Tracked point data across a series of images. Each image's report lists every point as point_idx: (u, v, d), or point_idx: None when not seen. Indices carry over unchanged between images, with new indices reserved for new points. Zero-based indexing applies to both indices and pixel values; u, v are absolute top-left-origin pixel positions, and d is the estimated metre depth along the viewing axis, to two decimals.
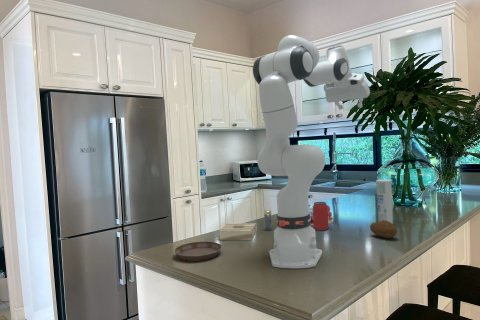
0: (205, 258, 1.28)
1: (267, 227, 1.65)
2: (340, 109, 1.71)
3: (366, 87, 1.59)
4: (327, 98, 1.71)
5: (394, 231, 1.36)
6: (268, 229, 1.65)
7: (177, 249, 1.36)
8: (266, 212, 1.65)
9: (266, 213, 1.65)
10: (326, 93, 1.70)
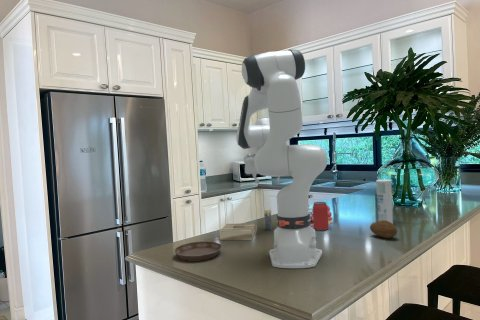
0: (205, 258, 1.28)
1: (267, 227, 1.65)
2: None
3: None
4: (246, 169, 1.66)
5: (394, 231, 1.36)
6: (268, 229, 1.65)
7: (177, 249, 1.36)
8: (266, 212, 1.65)
9: (266, 213, 1.65)
10: (246, 163, 1.66)
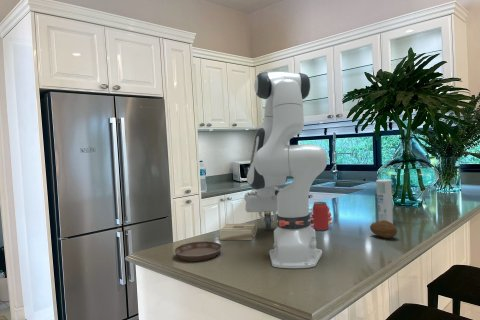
0: (205, 258, 1.28)
1: (267, 227, 1.65)
2: None
3: None
4: (247, 207, 1.66)
5: (394, 231, 1.36)
6: (268, 229, 1.65)
7: (177, 249, 1.36)
8: (266, 212, 1.65)
9: (266, 213, 1.65)
10: (247, 201, 1.66)
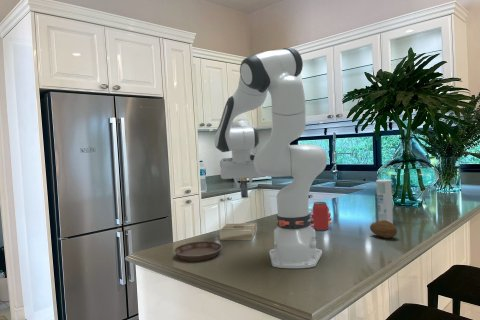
0: (205, 258, 1.28)
1: (243, 194, 1.59)
2: None
3: None
4: (222, 173, 1.60)
5: (394, 231, 1.36)
6: (244, 196, 1.59)
7: (177, 249, 1.36)
8: (242, 178, 1.59)
9: (242, 179, 1.59)
10: (222, 167, 1.60)
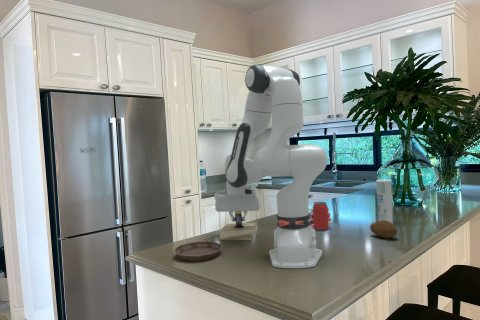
0: (205, 258, 1.28)
1: (238, 227, 1.58)
2: None
3: (258, 200, 1.56)
4: (216, 206, 1.59)
5: (394, 231, 1.36)
6: None
7: (177, 249, 1.36)
8: (236, 212, 1.58)
9: (236, 213, 1.58)
10: (216, 200, 1.59)
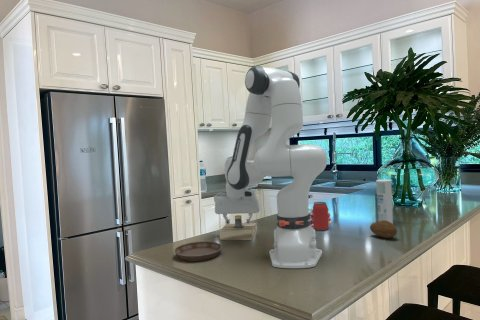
0: (205, 258, 1.28)
1: None
2: (227, 223, 1.59)
3: (258, 202, 1.56)
4: (216, 208, 1.59)
5: (394, 231, 1.36)
6: None
7: (177, 249, 1.36)
8: (236, 217, 1.57)
9: (236, 218, 1.57)
10: (216, 203, 1.58)
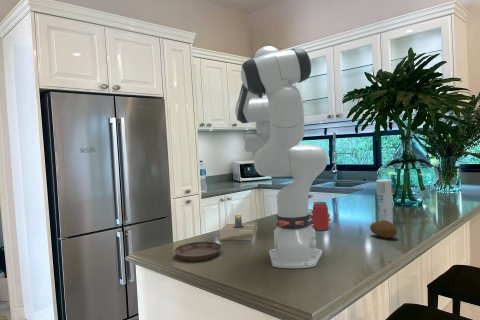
0: (205, 258, 1.28)
1: None
2: None
3: None
4: (246, 146, 1.60)
5: (394, 231, 1.36)
6: None
7: (177, 249, 1.36)
8: (236, 217, 1.57)
9: (236, 218, 1.57)
10: (246, 140, 1.59)
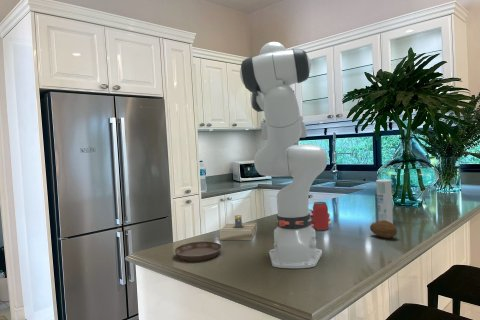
0: (205, 258, 1.28)
1: None
2: None
3: (305, 127, 1.58)
4: (263, 134, 1.61)
5: (394, 231, 1.36)
6: None
7: (177, 249, 1.36)
8: (236, 217, 1.57)
9: (236, 218, 1.57)
10: (263, 128, 1.61)
